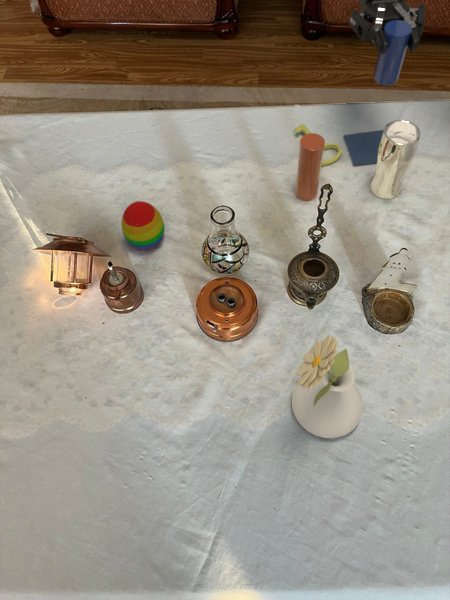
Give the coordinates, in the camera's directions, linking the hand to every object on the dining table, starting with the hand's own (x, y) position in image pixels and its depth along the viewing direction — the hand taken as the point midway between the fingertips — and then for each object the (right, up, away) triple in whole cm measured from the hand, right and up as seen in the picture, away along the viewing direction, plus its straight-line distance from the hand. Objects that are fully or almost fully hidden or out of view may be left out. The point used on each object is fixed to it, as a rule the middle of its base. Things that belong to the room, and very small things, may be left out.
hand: (399, 48), depth 92 cm
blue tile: (+1, -11, +24) cm, 26 cm away
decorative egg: (-46, -32, +14) cm, 58 cm away
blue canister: (0, -2, +8) cm, 8 cm away
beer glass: (+3, -21, +18) cm, 28 cm away
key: (-10, -10, +25) cm, 29 cm away
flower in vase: (-15, -62, -5) cm, 64 cm away
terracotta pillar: (-14, -21, +18) cm, 31 cm away
